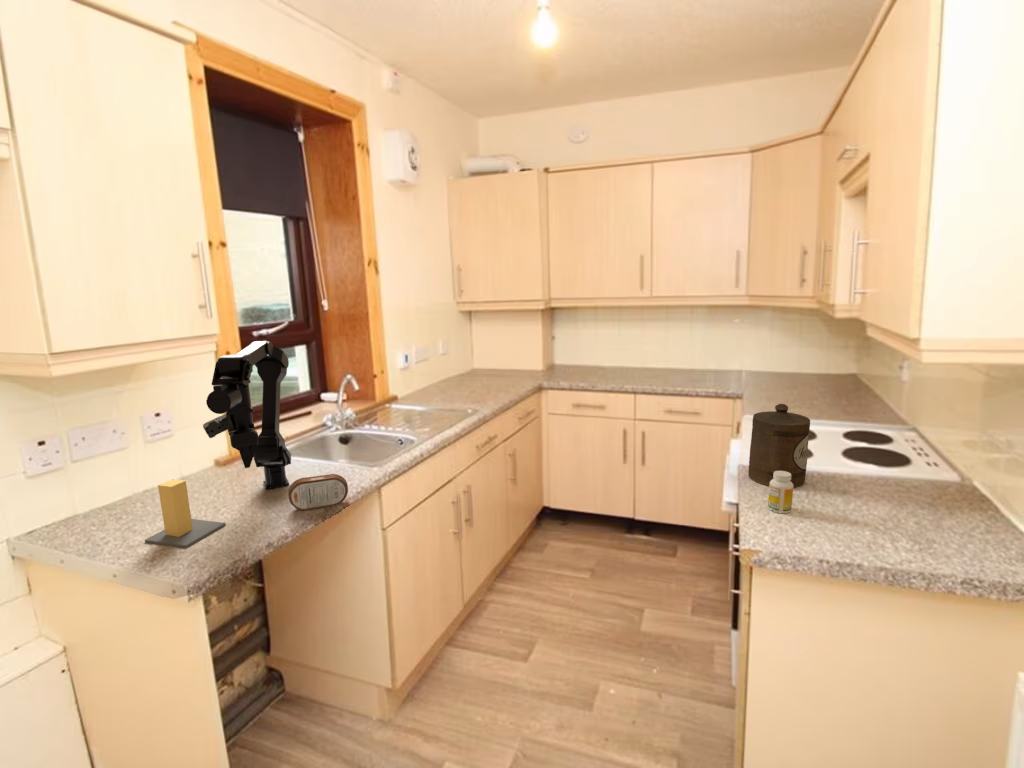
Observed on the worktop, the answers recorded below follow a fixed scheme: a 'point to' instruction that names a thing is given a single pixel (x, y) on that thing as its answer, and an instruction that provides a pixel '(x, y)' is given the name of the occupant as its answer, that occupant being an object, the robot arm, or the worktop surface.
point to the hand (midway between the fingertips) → (245, 462)
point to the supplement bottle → (780, 492)
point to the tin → (318, 491)
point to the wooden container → (779, 445)
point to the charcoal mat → (187, 534)
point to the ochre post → (175, 507)
